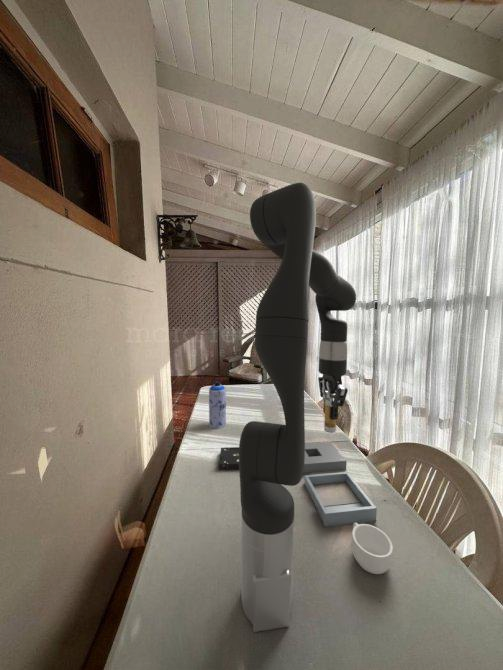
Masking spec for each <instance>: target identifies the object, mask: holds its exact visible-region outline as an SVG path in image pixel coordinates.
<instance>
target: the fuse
mask: <svg viewBox="0 0 503 670" xmlns="http://www.w3.org/2000/svg"><path fill="white" fill-rule="evenodd" d="M333 401H334V398H333ZM329 412H330V399H329V398H326V399H325V414H324V421H323V422H324V424H323V426H324V427H323V428H324V429H323V430H324V432H327V433H329V434H331V433H336V432H337V430H336V429H337V419H336V420H331V419H330V418H329Z"/></svg>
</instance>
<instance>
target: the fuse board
mask: <svg viewBox="0 0 503 670" xmlns="http://www.w3.org/2000/svg"><path fill="white" fill-rule="evenodd" d="M347 462H348V461H347V459H346V458H345V457H344V456H343V455H342V453H341V452H340V451H339V450H338V449H337V448H336V446H335V445H334V444H333V443H332V442H331V441H324V442H323V441H322V442H310V443H307V442H306V443H305V461H304V471H303V474H308V473H309V474H311V473H321V472H335V471H343V470H344V471H345V470H347Z"/></svg>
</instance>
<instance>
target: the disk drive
mask: <svg viewBox="0 0 503 670" xmlns="http://www.w3.org/2000/svg"><path fill="white" fill-rule="evenodd" d="M231 470H232V471H237V470H239V446H238V447H221V448H220V452H219V461H218V471H231Z"/></svg>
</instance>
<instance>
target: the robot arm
mask: <svg viewBox="0 0 503 670" xmlns="http://www.w3.org/2000/svg"><path fill="white" fill-rule="evenodd" d="M316 219H317V209H316V201H315V196H314V194H313V191H312V189H311V188H310V187H309V185H308V184H306V183H303V182H296V183H291V184H289V185H288V184H287V185H286V186H283V187H281V188H278V189H275V190H273V191H271V192H268V193H265V194H262V195H261V196H259V197H257V198H255V200H254V201H252V203H251V205H250V210H249V222H250V226H251V229H252V231H253V233H254V235H255V236H256V238H257V239H258V240H259V242H260V243H262V245H263V246H264V247H265V248H267V249H268V250H269V251H271V252H272V254H274V255H276V256H277V257H278V258H279V259H280V260H281V263H280V265H279V267H278V269H277V271H276V273H275V274H274V276H273V278H272V280H271V282H270V283H269V285H267V288H266V290H265V291H264V294H263V295H262V296H261V299H260V301H259V304H258V306H257V308H256V315H255V327H254V328H255V329H254V330H255V331H254V347H255V348H254V349H255V352H256V355H257V356H258V359H259V360H260V363H261V365H262V367H263V368H264V370H265V372H266V373H267V375H268V377H269V379H270V381H271V382H272V384H273V386H274V388H275V390H276V393H277V394H278V397H279V400H280V402H281V406H282V411H283V414H284V415H283V416H284V422H285V424H281V423H274V422H264V421H255V420H253V421H249V422H247V423H246V424H245V425H244V427H243V429H242V432H241V434H240V438H239V443H238V444H239V445H238V447H239V485H240V486H239V487H240V506H241V555H240V556H241V557H240V559H241V562H240V563H241V565H240V566H241V569H240V570H241V571H240V572H241V575H240V576H241V579H240V580H241V581H240V582H241V586H240V587H241V590H240V593H241V594H240V595H241V600H240V601H241V607H242V610H243V613H244V615H245V617H246V618H247V619H248V621H249V622H250V623H251V625H252V630H253V631H252V632H254V633H257V632H263V631H269V630H275V629H282V628H286V627H290V624H291V622H290V621H291V619H290V618H291V611H292V605H293V571H294V568H293V567H294V533H295V531H294V529H295V501H294V497H293V496H292V493H291V492H290V491H289V490H288V489H287V488H286V486H290V487H291V486H293V487H294V486H296V485H298V484H300V482H301V481H302V478H303V474H304V473H303V471H304V461H305V444H306V439H305V438H306V436H305V435H306V434H305V433H306V432H305V430H306V429H305V428H306V427H305V424H306V423H305V422H306V421H305V382H306V381H305V378H306V366H307V365H306V364H307V352H308V351H307V350H308V336H309V296H310V295H309V294H310V291H309V290H310V289H311V291H313V293H314V294H315V305H316V309H317V312H318V317H319V322H320V342H319V347H318V348H319V349H318V373H319V374H320V375H322V376H319V377H318V379H317V380H318V385H319V386H318V388H319V395H320V397H321V398H322V401H323V414H324V415H325V399H326V398H329V399H330V412H329V418H330V419H331V420H336V421H337V420H338V419H339V407H340V408H341V407H344V406H345V401H346V398H347V395H348V391H349V390H348V388H347V387H343V380H342V377H343V376H346V375H347V369H348V367H347V365H348V345H347V344H348V343H347V342H348V340H347V339H348V323H347V321H346V320H343V319H339V318H336V317H334V316H333V314H332V311H334V312H336V311H337V312H341V311H342V312H345V311H349V310H352V308H353V307H354V306H355V305H356V301H357V293H356V290H355V288H354V287H353V285H352V284H351V283H350V282H349V281H348V280H346V279H344V278H343V277H342V276H341V275H339V274H338V273H337V271H336V269H335V268H334V266H333V265H332V263H331V261H330V260H329V259H328V258H327V257H326V256H325V255H323V254H322V253H320V252H318V251H316V250H314V240H315V233H316V221H317V220H316ZM333 398H334V401H333Z"/></svg>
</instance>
